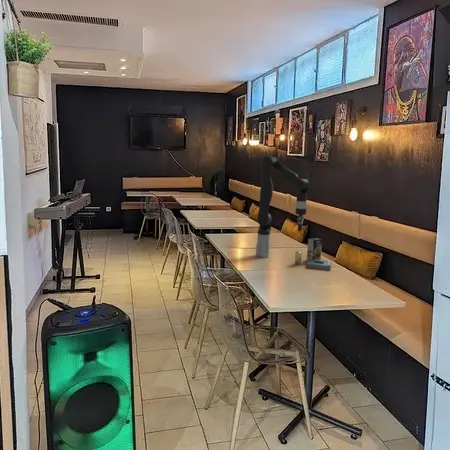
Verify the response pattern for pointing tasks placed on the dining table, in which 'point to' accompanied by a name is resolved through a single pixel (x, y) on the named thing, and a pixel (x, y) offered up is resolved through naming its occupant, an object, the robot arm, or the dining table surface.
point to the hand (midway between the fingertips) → (299, 230)
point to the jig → (319, 264)
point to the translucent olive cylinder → (298, 257)
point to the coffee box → (314, 248)
